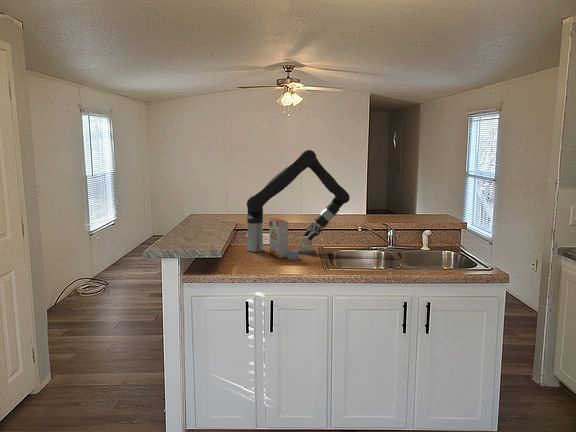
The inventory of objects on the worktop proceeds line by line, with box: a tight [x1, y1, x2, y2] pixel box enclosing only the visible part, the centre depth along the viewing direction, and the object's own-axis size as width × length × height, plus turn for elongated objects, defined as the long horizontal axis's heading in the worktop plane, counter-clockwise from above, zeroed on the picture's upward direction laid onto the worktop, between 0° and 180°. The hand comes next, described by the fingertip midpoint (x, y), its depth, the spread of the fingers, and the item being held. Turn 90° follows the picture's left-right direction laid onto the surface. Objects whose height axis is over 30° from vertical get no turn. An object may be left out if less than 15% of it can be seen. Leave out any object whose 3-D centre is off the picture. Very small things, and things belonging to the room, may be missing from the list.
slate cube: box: [287, 249, 300, 261], centre depth 273 cm, size 4×4×4 cm
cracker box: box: [268, 217, 289, 259], centre depth 280 cm, size 14×6×21 cm, turn 25°
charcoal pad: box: [296, 248, 317, 256], centre depth 288 cm, size 9×8×2 cm
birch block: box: [300, 235, 313, 251], centre depth 288 cm, size 5×5×8 cm
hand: (306, 238), depth 287 cm, fingers open, 8 cm apart
